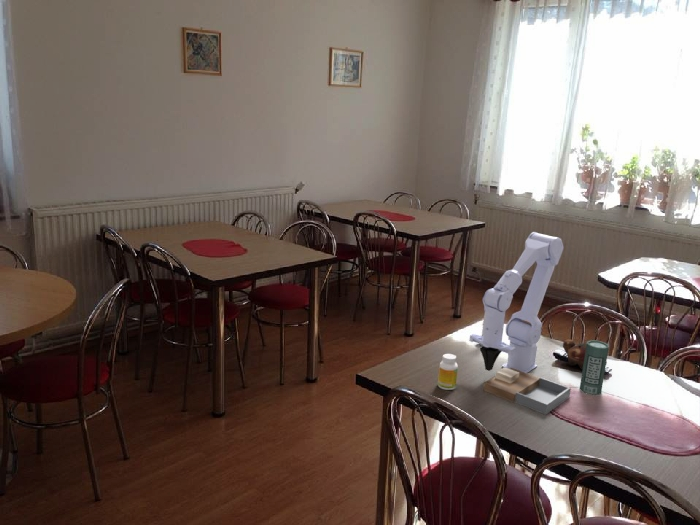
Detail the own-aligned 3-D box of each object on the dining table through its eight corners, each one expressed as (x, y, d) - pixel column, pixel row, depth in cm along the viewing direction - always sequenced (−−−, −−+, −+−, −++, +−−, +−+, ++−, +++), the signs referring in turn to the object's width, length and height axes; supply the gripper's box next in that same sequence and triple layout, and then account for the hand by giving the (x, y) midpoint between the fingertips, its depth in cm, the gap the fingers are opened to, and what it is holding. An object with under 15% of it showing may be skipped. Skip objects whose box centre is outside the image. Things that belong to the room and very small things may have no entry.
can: (601, 388, 190) (609, 343, 186) (600, 396, 184) (608, 349, 180) (580, 384, 192) (587, 338, 188) (578, 392, 187) (586, 345, 183)
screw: (492, 344, 220) (487, 348, 216) (479, 341, 222) (474, 345, 218) (496, 309, 216) (491, 313, 212) (482, 306, 219) (477, 310, 215)
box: (539, 386, 189) (540, 377, 188) (569, 397, 183) (570, 387, 182) (514, 402, 178) (515, 392, 178) (545, 414, 172) (547, 404, 171)
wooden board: (510, 374, 196) (511, 367, 195) (539, 385, 189) (540, 378, 189) (483, 390, 185) (484, 382, 184) (513, 402, 178) (514, 394, 177)
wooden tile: (503, 373, 191) (504, 367, 191) (518, 378, 188) (519, 372, 187) (495, 377, 187) (496, 371, 187) (510, 383, 184) (511, 377, 184)
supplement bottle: (455, 391, 183) (458, 361, 181) (437, 389, 184) (439, 358, 182) (456, 383, 188) (459, 353, 186) (438, 381, 189) (441, 351, 187)
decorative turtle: (566, 356, 213) (570, 334, 211) (610, 370, 203) (614, 347, 201) (553, 363, 206) (556, 341, 204) (598, 379, 196) (602, 355, 194)
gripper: (465, 324, 190) (461, 365, 193) (508, 338, 180) (503, 381, 184) (478, 319, 195) (474, 359, 199) (520, 332, 185) (514, 374, 189)
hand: (488, 369), depth 192 cm, fingers closed
